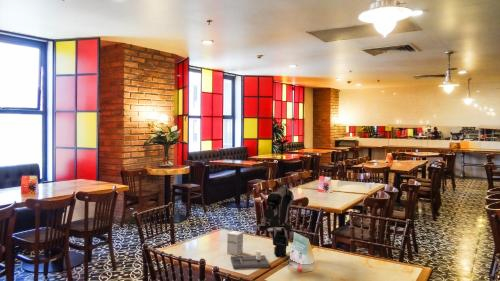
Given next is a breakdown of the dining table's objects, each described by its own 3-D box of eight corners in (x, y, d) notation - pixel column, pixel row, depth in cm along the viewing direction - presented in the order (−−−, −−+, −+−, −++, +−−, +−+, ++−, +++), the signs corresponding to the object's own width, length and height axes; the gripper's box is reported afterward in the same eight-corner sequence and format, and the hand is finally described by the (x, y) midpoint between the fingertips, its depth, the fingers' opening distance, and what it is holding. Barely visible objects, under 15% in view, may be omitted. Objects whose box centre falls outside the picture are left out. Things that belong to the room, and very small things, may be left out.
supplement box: (226, 253, 236) (226, 233, 235) (232, 250, 242) (233, 230, 242) (237, 255, 233) (237, 234, 232) (243, 252, 239) (243, 231, 238)
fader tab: (259, 257, 222) (259, 249, 222) (260, 259, 219) (260, 251, 219) (255, 257, 222) (256, 249, 222) (257, 260, 218) (257, 252, 218)
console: (264, 258, 228) (264, 255, 228) (269, 267, 214) (269, 263, 214) (230, 259, 225) (230, 256, 225) (233, 268, 211) (233, 265, 211)
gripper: (286, 211, 230) (286, 237, 231) (256, 212, 227) (255, 238, 228) (291, 215, 219) (291, 243, 220) (259, 216, 216) (259, 244, 217)
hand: (274, 241), depth 221 cm, fingers closed
